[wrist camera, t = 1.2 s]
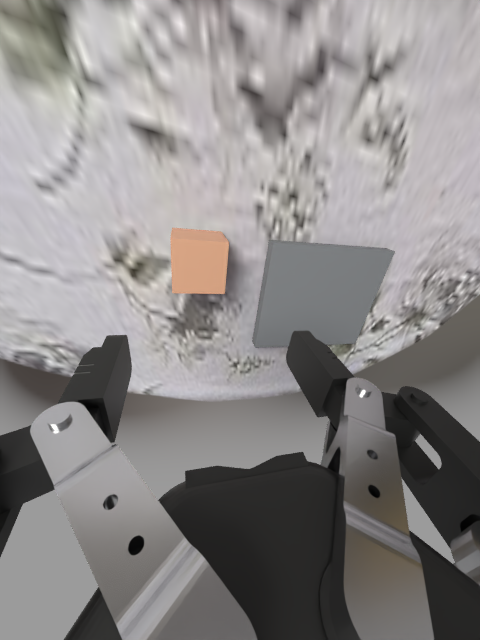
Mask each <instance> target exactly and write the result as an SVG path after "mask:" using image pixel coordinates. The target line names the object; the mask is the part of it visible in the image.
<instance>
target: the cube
mask: <svg viewBox="0 0 480 640" xmlns="http://www.w3.org/2000/svg"><path fill="white" fill-rule="evenodd" d="M228 249H229V242H228V240H227V239H226V238H225V236H224V235H223V233H222V232H220V231H207V230H194V229H181V228H172V233H171V265H172V293H199V294H225V285H226V273H227V261H228Z"/></svg>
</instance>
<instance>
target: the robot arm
mask: <svg viewBox="0 0 480 640" xmlns="http://www.w3.org/2000/svg"><path fill="white" fill-rule="evenodd" d="M286 360H287V364H288V367H289V368H290V370H291V372H292V374H293V375H294V377H295V379H296V381H297V382H298V384H299V386H300V388H301V389H302V391H303V393H304V394H305V396H306V398H307V400H308V402H309V403H310V405H311V407H312V409H313V410H314V412H315V414H316V415H317V417H324V416H328V418H329V422H328V424H327V430H326V437H325V444H324V450H323V456H322V461H321V465H319V464H316V463H312V462H308V461H307V460H306V458H305V456H304V453H303V452H299V453H293V454H286V455H281V456H276V457H274V458H272V459H270V460H268V461H266V462H264V463H262V464H260V465H258V466H256V467H254V468H251V469H241V468H232V467H222V466H213V467H207V468H201V469H195V470H189V471H185V476H186V477H185V478H186V481H185V482H183V483H181V484H178V485H177V486H175V487H174V488H172V489H171V490H169V491H168V492H167V493H166V494H164V495H163V496H162V497H161V498H160V499H159V500H157V498H156V497H155V495H154V494H153V493H152V491H151V490H150V489H149V487H148V486H147V485H146V483H145V482H144V480H143V479H142V478H141V476H140V475H139V473H138V472H137V471H136V470H135V468H134V467H133V465H132V464H131V462H129V460H128V458H127V457H126V456H125V455H124V453H123V451H122V450H121V449H120V448H119V447H118V446H117V445H116V444H115V445H112V444H111V443H112V442H115V438H116V434H117V430H118V426H119V422H120V418H121V414H122V410H123V406H124V401H125V397H126V393H127V389H128V385H129V381H130V377H131V370H132V364H131V357H130V350H129V344H128V338H127V335H109V336H107V337H106V339H105V341H104V343H103V345H102V347H95V348H92V349H91V350H90V351H89V352H87V353H86V354H85V355H84V356H83V358H82V359H81V361H80V363H79V367H77V369H76V371H75V372H74V373H75V374H73V376H72V378H71V380H70V382H69V384H68V386H67V387H66V389H65V391H64V393H63V395H62V397H61V399H60V400H59V402H58V404H57V405H55V406H52V407H50V408H49V409H47V410H45V411H44V412H43V413H41V414H40V415H39V416H38V417H37V418H36V419H35V420H34V422H33V424H32V425H30V426H28V427H25V428H23V429H19V430H17V431H13V432H10V433H7V434H4V435H1V436H0V557H1V554H2V552H3V550H4V547H5V545H6V542H7V540H8V538H9V535H10V533H11V531H12V528H13V526H14V524H15V521H16V519H17V516H18V514H19V512H20V509H21V507H22V505H23V503H25V502H28V501H30V500H32V499H34V498H37V497H39V496H41V495H43V494H46V493H48V492H50V491H52V490H55V491H56V494H57V495H58V498H59V500H60V502H61V505H62V507H63V509H64V511H65V513H66V516H67V518H68V520H69V522H70V524H71V527H72V529H73V531H74V533H75V535H76V538H77V540H78V542H79V544H80V546H81V549H82V551H83V553H84V555H85V557H86V560H87V562H88V564H89V566H90V569H91V571H92V573H93V575H94V577H95V580H96V582H97V584H98V586H99V587H98V589H97V590H96V592H95V593H94V595H93V596H92V598H91V599H90V601H89V602H88V604H87V605H86V607H85V608H84V610H83V611H82V613H81V614H80V616H79V617H78V619H77V620H76V622H75V623H74V625H73V627H72V628H71V630H70V631H69V633H68V634H67V636H66V637H65V639H64V640H480V442H479V441H478V440H477V439H476V438H475V437H474V436H473V435H472V434H471V433H469V432H468V431H467V430H466V429H465V428H464V427H463V426H462V425H461V424H460V423H459V422H458V421H456V419H454V418H453V417H452V416H451V415H450V414H449V413H448V412H447V411H446V410H445V409H444V408H443V407H442V406H440V405H439V404H438V403H437V402H436V401H435V400H434V399H433V398H432V397H431V396H429V395H428V394H427V393H425V392H423V391H421V390H419V389H416V388H414V387H408V386H405V387H402V388H401V389H400V390H399V392H398V393H397V395H396V394H390V393H384V392H380V390H379V389H378V388H377V387H376V386H375V385H374V384H372V383H371V382H369V381H367V380H365V379H362V378H356V377H354V376H353V375H352V374H351V372H350V371H349V370H348V369H347V368H346V367H345V366H344V364H343V363H342V362H341V361H340V360H339V359H337V356H336V355H335V354H334V353H332V351H331V350H330V348H329V347H328V346H327V345H326V344H324V343H323V342H321V341H320V340H318V339H316V338H315V337H314V336H313V335H312V333H311V332H310V331H308V330H306V331H294V332H293V333H292V336H291V340H290V343H289V347H288V351H287V355H286ZM419 434H421V435H422V436H423V437H424V438H425V439H426V440H427V442H428V443H429V444H430V445H431V446H432V447H433V448H434V450H435V451H436V452H437V453H438V454H439V456H440V458H441V462H442V466H441V468H440V469H438V468H437V467H436V466H435V465H434V463H433V462H432V461H431V460H430V459H429V458H428V456H427V455H426V454H425V453H424V451H423V450H422V449H421V448H420V447H419V445H417V443H416V442H415V440H416V438H417V437H418V436H419ZM401 477H402V478H401ZM402 479H403V480H404V481H405V483H406V485H407V486H408V487H409V489H410V490H411V492H412V493H413V495H414V496H415V498H416V499H417V501H418V502H419V504H420V505H421V507H422V508H423V509H424V511H425V512H426V514H427V515H428V517H429V518H430V520H431V521H432V523H433V524H434V526H435V527H436V528H437V530H438V531H439V533H440V534H441V536H442V537H443V539H444V540H445V541H446V543H447V545H448V546H449V547H450V549H451V553H452V556H453V559H454V561H455V563H454V564H452V563H451V562H449V561H448V560H447V559H446V558H444V557H443V556H442V555H440V554H439V553H438V552H437V551H435V550H434V549H433V548H431V547H430V546H429V545H428V544H426V543H425V542H424V541H423V540H421V539H420V538H419V537H417V536H416V535H415V534H414V533H412V532H411V531H409V527H408V520H407V513H406V506H405V499H404V493H403V485H402Z"/></svg>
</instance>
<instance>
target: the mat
mask: <svg viewBox="0 0 480 640" xmlns="http://www.w3.org/2000/svg"><path fill="white" fill-rule="evenodd" d="M394 253H395V251H392V250H389V249H387V248H374V247H360V246H346V245H332V244H318V243H304V242H290V241H276V240H269V244H268V250H267V256H266V262H265V268H264V274H263V280H262V286H261V292H260V298H259V304H258V310H257V316H256V322H255V328H254V334H253V340H252V342H253V344H254V346H255V348H259V347H283V346H289V343H290V340H291V336H292V333H293V332H294V331H306V330H308V331H310V332H311V333H312V335H313V336H314V337H315V338H316V339H318V340H320V341H321V342H323V343H324V344H326V345H330V344H354V343H356V340H357V338H358V336H359V333H360V331H361V329H362V326H363V324H364V322H365V320H366V317H367V315H368V313H369V310H370V308H371V306H372V303H373V301H374V299H375V297H376V294H377V292H378V290H379V287H380V285H381V283H382V280H383V278H384V276H385V273H386V271H387V269H388V267H389V264H390V262H391V260H392V257H393V255H394Z"/></svg>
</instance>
